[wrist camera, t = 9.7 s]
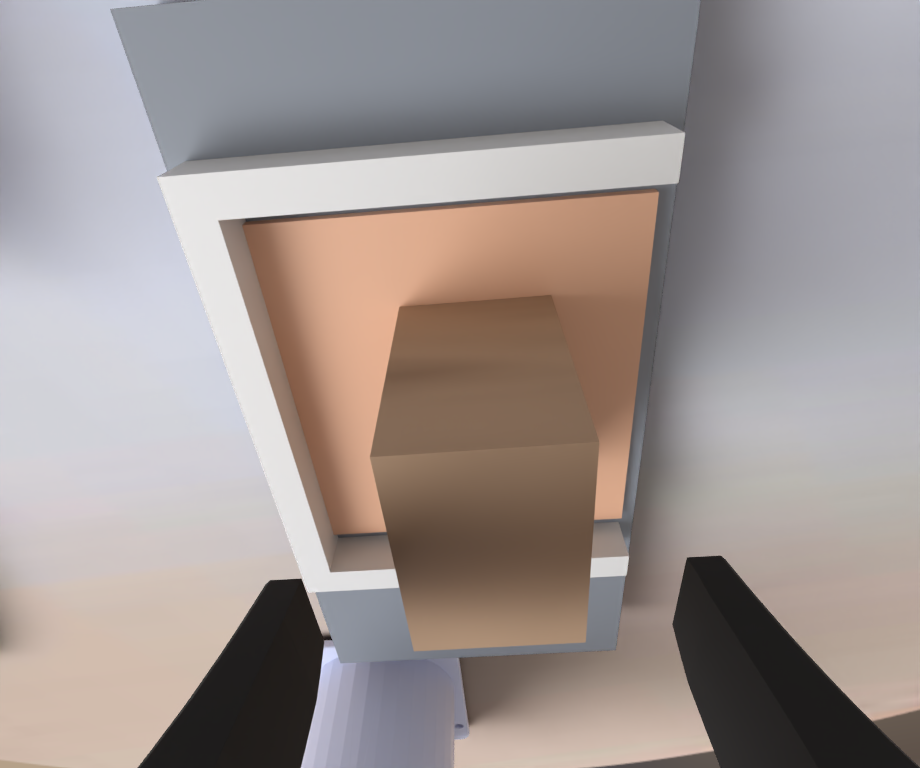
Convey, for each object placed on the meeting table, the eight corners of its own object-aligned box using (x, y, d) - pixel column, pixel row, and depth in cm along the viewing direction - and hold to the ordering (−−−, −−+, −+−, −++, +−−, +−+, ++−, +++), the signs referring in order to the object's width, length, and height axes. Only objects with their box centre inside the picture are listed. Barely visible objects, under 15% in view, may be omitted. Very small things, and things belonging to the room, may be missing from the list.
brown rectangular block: (550, 466, 18) (585, 642, 13) (425, 475, 18) (413, 651, 13) (551, 294, 15) (599, 442, 10) (399, 306, 15) (369, 457, 10)
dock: (605, 608, 26) (624, 684, 23) (347, 622, 26) (334, 697, 23) (674, -42, 13) (739, -57, 10) (154, 9, 13) (67, 8, 10)
